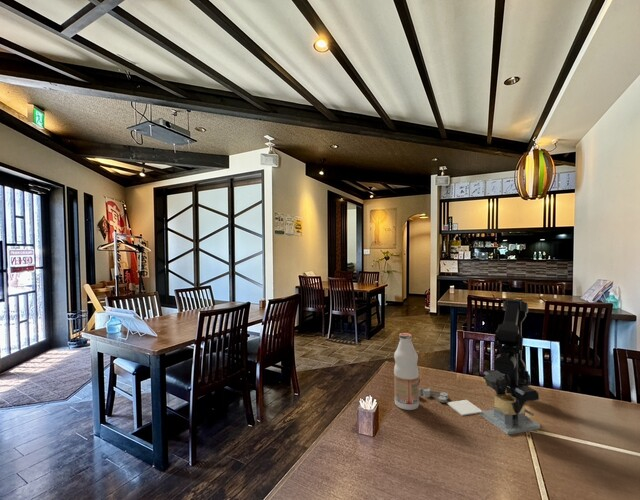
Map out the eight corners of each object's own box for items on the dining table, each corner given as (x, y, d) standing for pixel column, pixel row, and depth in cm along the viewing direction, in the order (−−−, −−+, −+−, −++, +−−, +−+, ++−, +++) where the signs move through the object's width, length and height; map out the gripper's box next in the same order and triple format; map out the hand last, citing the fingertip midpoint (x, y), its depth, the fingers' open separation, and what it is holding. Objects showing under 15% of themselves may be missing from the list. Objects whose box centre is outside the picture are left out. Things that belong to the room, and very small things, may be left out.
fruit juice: (395, 409, 118) (393, 337, 118) (394, 397, 127) (392, 330, 127) (420, 411, 116) (419, 338, 116) (417, 399, 126) (416, 331, 125)
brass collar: (509, 403, 112) (509, 392, 112) (524, 412, 106) (524, 401, 106) (494, 405, 111) (494, 394, 111) (508, 415, 105) (508, 403, 105)
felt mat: (466, 400, 124) (466, 399, 124) (482, 412, 115) (482, 411, 115) (446, 403, 122) (446, 402, 122) (461, 415, 113) (461, 414, 113)
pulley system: (423, 411, 118) (454, 402, 123) (422, 399, 118) (453, 390, 123) (386, 384, 144) (413, 377, 149) (385, 374, 144) (412, 368, 149)
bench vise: (513, 410, 116) (513, 390, 116) (542, 428, 104) (542, 406, 104) (481, 415, 113) (480, 395, 113) (507, 434, 101) (507, 412, 101)
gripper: (470, 357, 116) (471, 398, 116) (510, 378, 98) (511, 426, 98) (495, 354, 118) (496, 395, 118) (539, 374, 100) (540, 421, 100)
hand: (509, 408), depth 109 cm, fingers closed on brass collar, 6 cm apart
